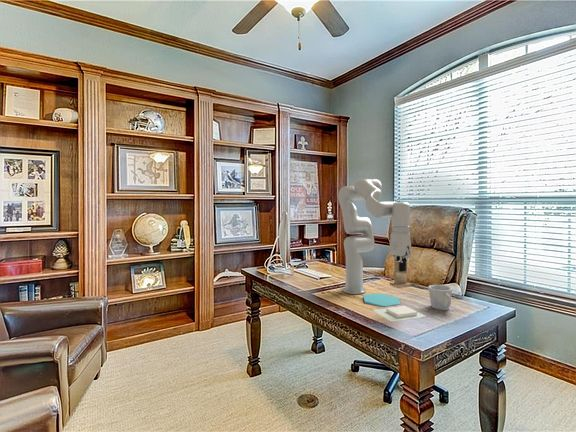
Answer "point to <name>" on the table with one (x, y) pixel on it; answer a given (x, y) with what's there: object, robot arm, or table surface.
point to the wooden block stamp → (400, 277)
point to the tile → (401, 311)
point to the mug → (440, 296)
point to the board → (394, 318)
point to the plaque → (381, 300)
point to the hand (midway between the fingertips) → (400, 270)
